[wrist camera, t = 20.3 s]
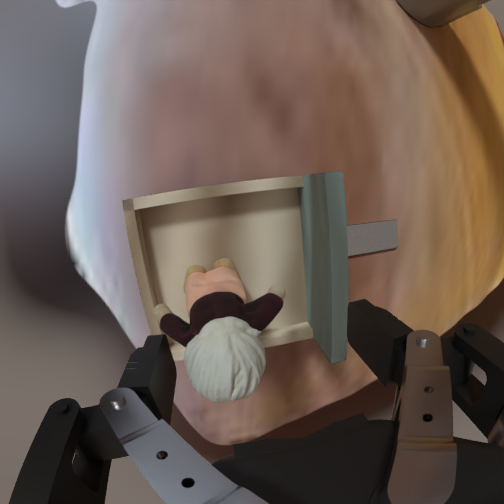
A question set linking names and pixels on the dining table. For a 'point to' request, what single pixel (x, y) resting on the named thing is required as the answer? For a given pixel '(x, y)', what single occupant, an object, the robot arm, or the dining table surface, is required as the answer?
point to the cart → (251, 251)
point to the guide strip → (371, 237)
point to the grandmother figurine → (221, 331)
